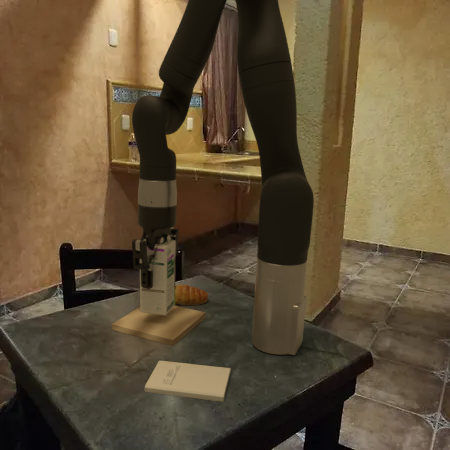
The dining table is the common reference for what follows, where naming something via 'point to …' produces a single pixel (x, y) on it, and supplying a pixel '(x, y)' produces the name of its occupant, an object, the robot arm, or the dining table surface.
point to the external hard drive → (189, 380)
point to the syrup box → (160, 281)
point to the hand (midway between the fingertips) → (156, 282)
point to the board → (160, 324)
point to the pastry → (189, 295)
